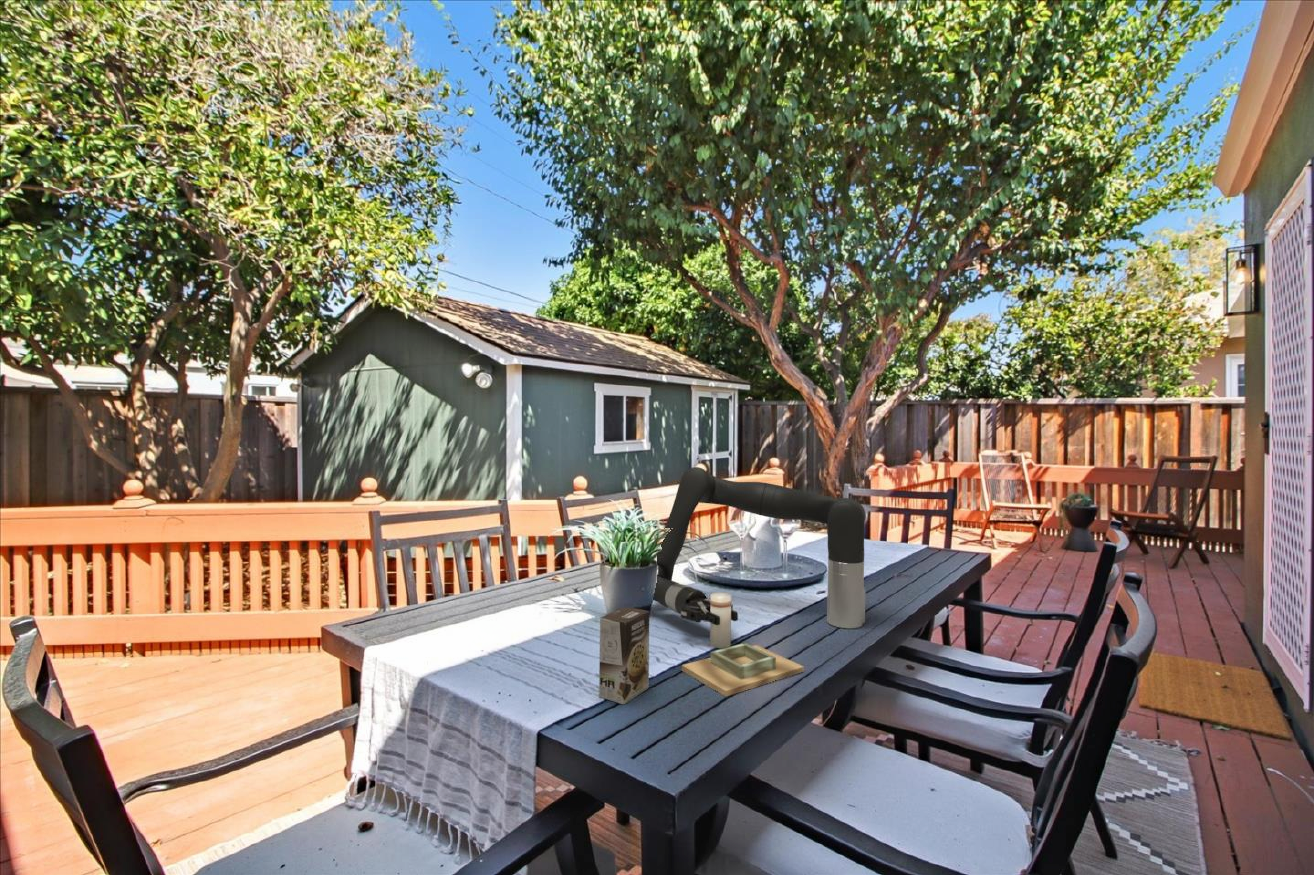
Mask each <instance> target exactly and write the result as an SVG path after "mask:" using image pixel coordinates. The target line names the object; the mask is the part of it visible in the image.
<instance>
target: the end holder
mask: <svg viewBox="0 0 1314 875" xmlns="http://www.w3.org/2000/svg"><path fill="white" fill-rule="evenodd" d="M681 671H682V672H684V673H685V674H687V676H689V677H692V678H693V679H695V678H696V679H695V680H697V681H698V680H699V682H700V683H702V684H704V686H707V687H708V688H710V689H712V690H714V691H715V690H716V692H717V691H718V693H719V694H720V695H722V696H723V697H725V696H726V697H729V696H733V695H737V694H740V693H743V692H746V691H748V689H749V690H752V689H754V688H758V686H759V687H760V686H761V685H762V686H764V684H765V685H767V684H766V683H768V682H771V683H773V682H772V681H774V682H776V681H775V680H777V681H779V680H778V679H780V678H784V679H786V678H785V677H787V678H789V677H788V676H790V677H792V676H791V675H793V676H795V675H794V674H796V675H798V674H797V673H799V672H801V671H804V672H805V666H803V665H801V664H799V663H797V662H794V661H793V660H791V659H788V658H786V657H784V656H781V655H779V654H777V653H775V652H773V651H771V650H768V649H766V648H764V647H762V646H760V645H759V644H758V645H750V644H748V643H746V642H744V643H740V644H735V645H731V646H730V647H727V648H719V649H717V650H714V651H710V657H708V658H704V659H700V660H697V661H692V662H689V663H685V664H682V665H681ZM768 684H769V683H768ZM745 690H746V691H745ZM742 691H743V692H742Z"/></svg>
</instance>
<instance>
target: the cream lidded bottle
mask: <svg viewBox="0 0 1314 875" xmlns="http://www.w3.org/2000/svg"><path fill="white" fill-rule="evenodd" d="M709 599H710V612H711V613H713V614H716V615H718V616H719V617H720V625H714V624H712V623H710V622H709V623H710V624H709V645H710V646H711V647H712V648H715V647H717V648H716V649H724V648H728V647H732V643H731V642H732V641H731V639H732V620H731V605H733V602H732V601H733V599H732V595H731V594H730V593H726V592H714V593H711V594H710V598H709Z"/></svg>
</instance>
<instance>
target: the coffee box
mask: <svg viewBox="0 0 1314 875" xmlns="http://www.w3.org/2000/svg"><path fill="white" fill-rule="evenodd" d="M599 619H600V620H599V621H600V622H599V670H598V671H599V675H598V677H599V679H598V697H599V698H602V699H605V700H608V701H611V702H613V703H614V702H615V703H618V704H621V705H625V704H627V703H628V702H630V701H631V700H633V699H634V698H636V697H638V696H639V695H640V694H642V693H644V692H645V691H647V690H648V689H649V684H650V683H649V680H650V679H649V678H650V677H649V675H650V672H649V671H650V611H649V610H645V609H641V608H636V607H635V608H634V607H629V606H623V607H622V608H620V609H617V610H615V611H613V612H610V613H608V614H606V615H603V616H600V618H599Z"/></svg>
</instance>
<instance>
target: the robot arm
mask: <svg viewBox="0 0 1314 875" xmlns="http://www.w3.org/2000/svg"><path fill="white" fill-rule="evenodd" d="M699 504H711V505H712V504H713V505H719V506H720V505H721V506H726V507H732V508H735V509H737V510H741V511H743V512H747V513H751V514H753V515H759V516H763V517H768V518H770V519H777V520H785V521H786V520H791V521H811V522H812V521H813V522H816V523H821V524H823V525H827V551H828V552H827V596H826V597H827V598H826V600H827V602H826V621H827V624H829V625H831V626H834V627H837V628H842V629H858V628H861V627H863V624H865V623H866V591H867V590H866V588H865V586H864V585H865V584H864V582H865V580H864V579H865V578H864V576H865V526H866V524H865V523H866V522H865V521H866V518H867V517H866V516H867V515H866V510H865V508H864V506H863V505H862V504H861V503H860V502H859V501H858V500H856V499H853V498H849V497H838V496H837V497H835V496H826V495H818V494H815V493H810V492H806V491H802V490H798V489H795V488H793V487H792V488H791V487H786V486H783V485H780V484H775V483H769V482H768V483H767V482H761V481H732V480H728V479H726V478H725V479H724V478H721V477H718V476H715V475H712V474H709V472H708V471H706V470H705V469H704V468H702V467H698V466H694V467H690V468H688V469H687V470H685V471H684V473H683V474H682V476H681V478H680V480H679V484H678V488H677V491H676V495H675V497H674V501H673V505H672V508H671V511H670V513H669V516H668V518H667V521H666V523H665V526H664V528H663V530H664V529H665V528H670V530H671V531H670V532H668V534H667V535H666V537H665V539H664V540H663V542H662V544H661V547H662V551H661V552H659V553H658V554H657V565H656V567H657V583H656V588H655V593H654V597H653V600H652V601H655V602H657V603H659V604H661V605H662V606H664V607H666V608H668V609H670V610H671V611H672V612H674V613H676V614H678V615H680V618H681V619H685V620H688V621H691V622H695V623H698V624H699V623H701V622H705V623H708V622H709V623H712V624H714V625H720V617H719V616H718V615H716V614H713V613H711V612H710V598H708V597H707V595H706V593H705V592H703V591H701V590H699V589H698V588H694V587H692V586H689V585H686V584H684V583H679V582H677V581H674V580H673V575H674V569H675V565H676V563H677V560H678V558H679V556H680V554H681V552H682V549H683V546H684V544H685V542H686V537H687V534H688V533H687V532H688V529H689V527H690V522H691V519H692V517H693V514H694V512H695V510H696V508H697V506H698V505H699ZM671 528H673V529H671ZM733 607H734V605H733V604H732V605H731V621H733V622H737V621H738V618H739V615H738V614H739V612H738V611H737V610H733Z"/></svg>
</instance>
